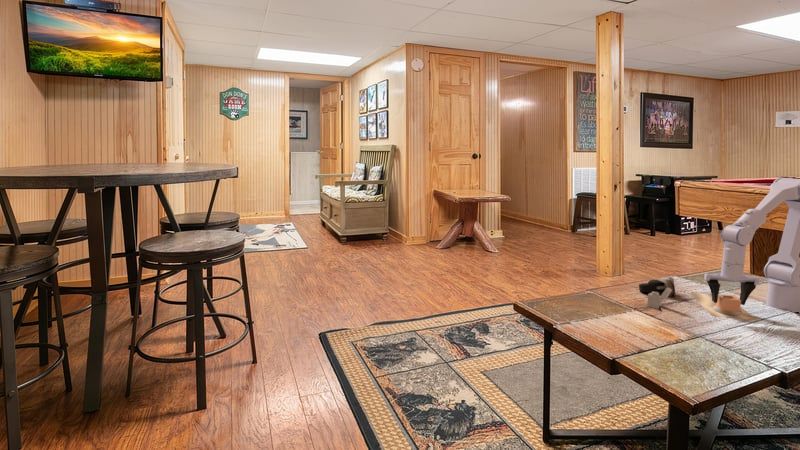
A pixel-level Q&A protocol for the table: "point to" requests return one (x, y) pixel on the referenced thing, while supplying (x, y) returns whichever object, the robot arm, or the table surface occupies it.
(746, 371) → the table surface
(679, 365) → the table surface
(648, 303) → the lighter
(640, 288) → the caster wheel
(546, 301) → the table surface
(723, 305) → the collar
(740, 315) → the board
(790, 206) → the robot arm
